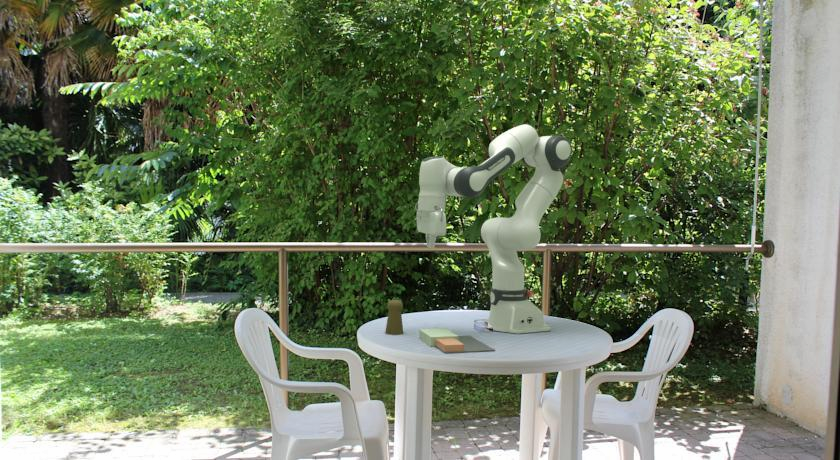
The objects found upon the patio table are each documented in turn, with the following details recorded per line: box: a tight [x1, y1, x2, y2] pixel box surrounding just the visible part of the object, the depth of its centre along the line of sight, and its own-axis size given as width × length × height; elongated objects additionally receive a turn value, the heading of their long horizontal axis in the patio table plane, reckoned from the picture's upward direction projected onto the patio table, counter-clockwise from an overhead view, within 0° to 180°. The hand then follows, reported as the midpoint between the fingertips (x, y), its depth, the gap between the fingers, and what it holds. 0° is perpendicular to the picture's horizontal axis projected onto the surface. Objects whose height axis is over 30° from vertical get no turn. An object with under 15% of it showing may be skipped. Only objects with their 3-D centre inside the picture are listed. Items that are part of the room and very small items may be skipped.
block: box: [435, 338, 464, 353], centre depth 218 cm, size 6×9×2 cm, turn 18°
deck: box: [418, 327, 459, 348], centre depth 228 cm, size 9×12×3 cm
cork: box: [385, 299, 404, 336], centre depth 240 cm, size 6×6×11 cm
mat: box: [435, 335, 496, 355], centre depth 225 cm, size 16×21×1 cm
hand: (430, 247), depth 236 cm, fingers closed
